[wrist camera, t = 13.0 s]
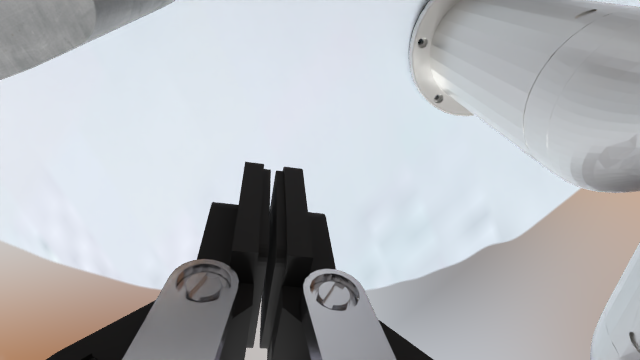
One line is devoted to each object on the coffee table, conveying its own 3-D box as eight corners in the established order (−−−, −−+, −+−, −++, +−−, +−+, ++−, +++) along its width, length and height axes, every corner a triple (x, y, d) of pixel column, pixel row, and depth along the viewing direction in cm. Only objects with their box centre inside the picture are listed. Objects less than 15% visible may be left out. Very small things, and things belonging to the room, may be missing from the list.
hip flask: (171, -47, 29) (33, -54, 12) (191, 11, 31) (98, 75, 14) (-35, 3, 29) (-472, 68, 12) (-2, 57, 31) (-333, 179, 14)
